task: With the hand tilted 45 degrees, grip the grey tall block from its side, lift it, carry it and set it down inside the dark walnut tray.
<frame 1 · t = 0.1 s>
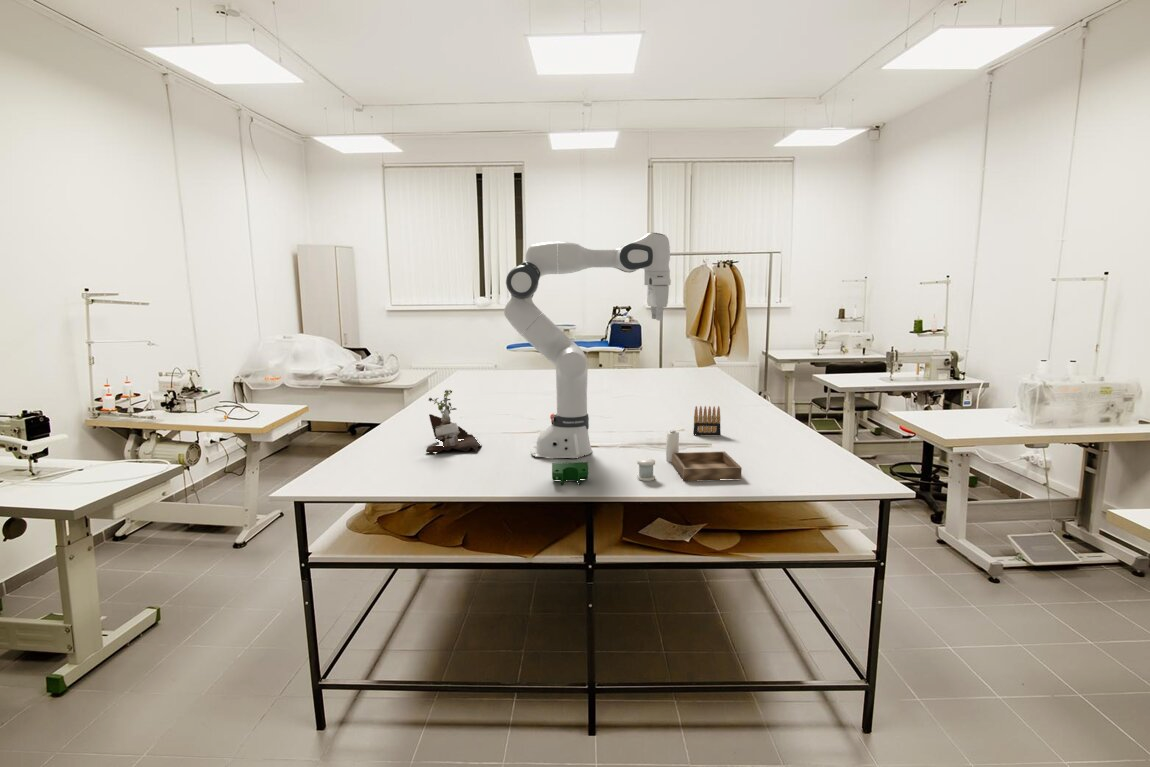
hand: (656, 319, 210), 48 cm above the table, tool pointing down, fingers open, 8 cm apart
tray: (704, 471, 191), on the table
ammunition clip: (706, 435, 238), on the table
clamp: (570, 483, 183), on the table
grey tall block: (672, 460, 204), on the table
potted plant: (454, 447, 226), on the table
small spool: (646, 478, 185), on the table
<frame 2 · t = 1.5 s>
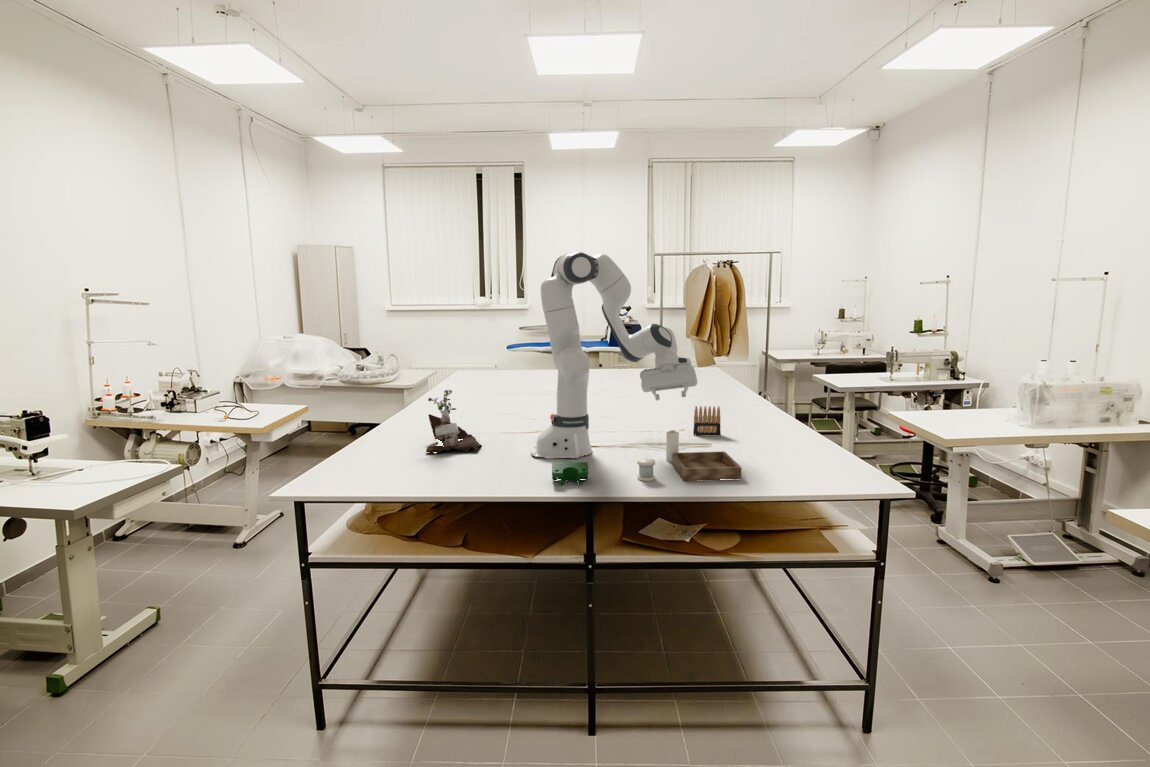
hand: (670, 397, 212), 20 cm above the table, tool tilted 45°, fingers open, 8 cm apart
nothing on the table moved.
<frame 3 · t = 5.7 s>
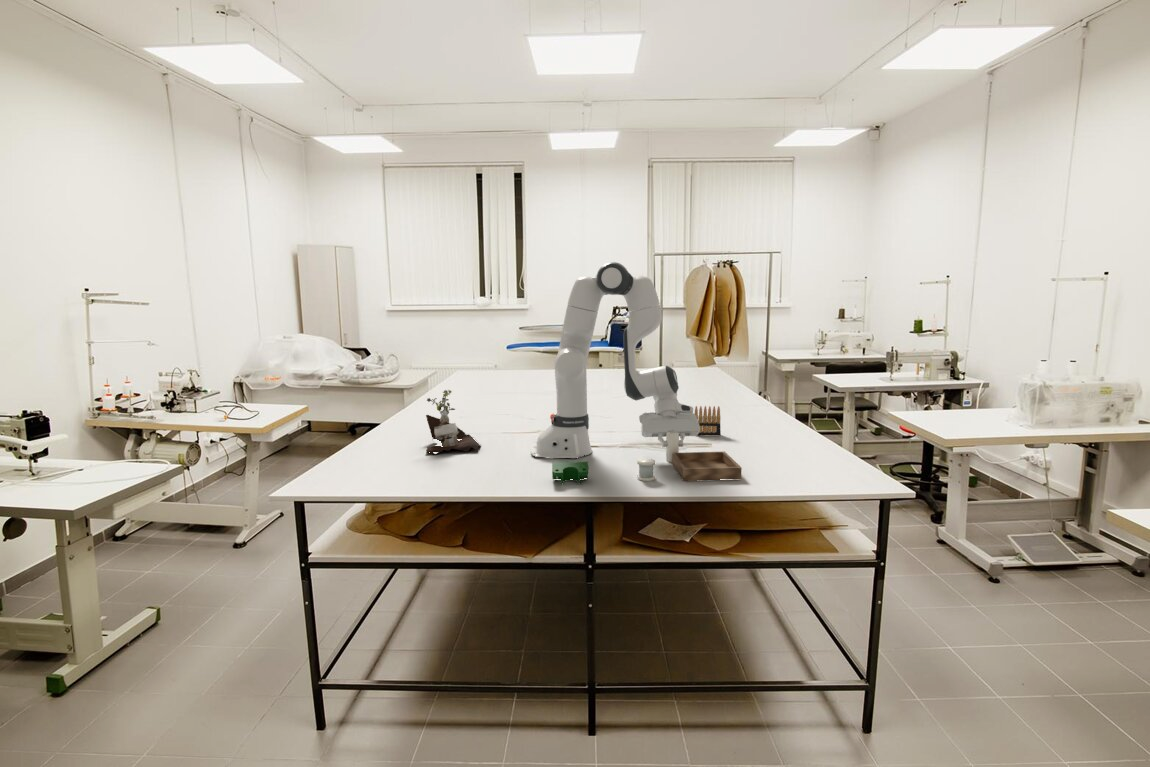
hand: (672, 446, 202), 5 cm above the table, tool tilted 45°, fingers closed on grey tall block, 4 cm apart
grey tall block: (672, 460, 204), on the table, touching gripper
when the fingers open (8 cm above the table, at t = 11.0 s): grey tall block drops 1 cm, resting on tray.
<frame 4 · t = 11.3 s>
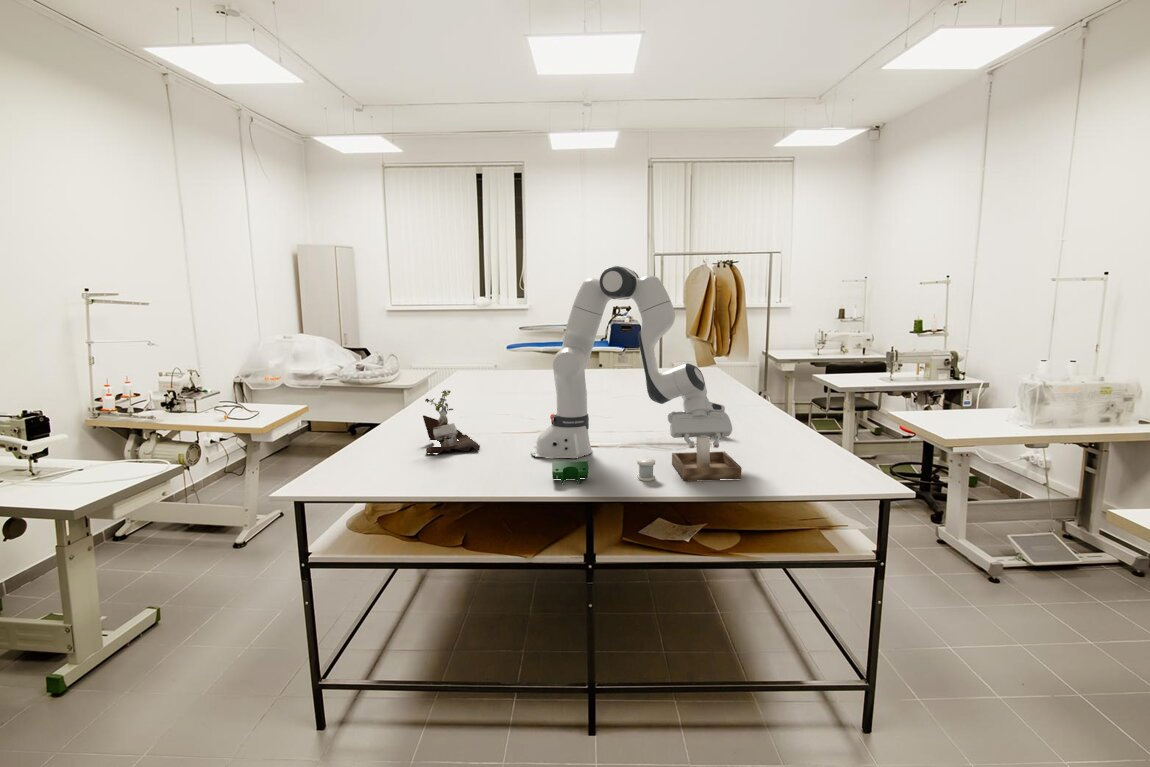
hand: (704, 447, 191), 8 cm above the table, tool tilted 45°, fingers open, 7 cm apart
grey tall block: (703, 466, 193), point 1 cm above the table, touching tray
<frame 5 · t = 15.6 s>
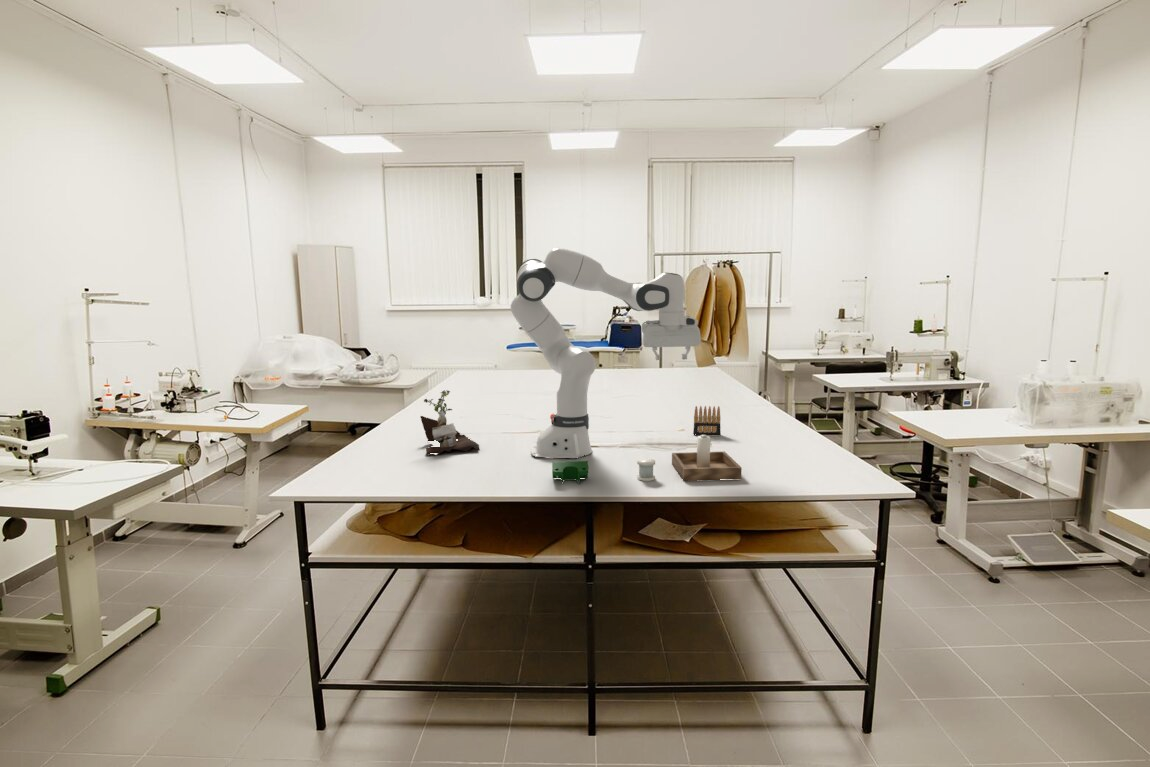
hand: (671, 359, 207), 34 cm above the table, tool pointing down, fingers open, 8 cm apart
at the end: grey tall block inside the target area on the tray (2.0 cm from its centre), point 1.0 cm above the tray's base; the gripper is holding nothing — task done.
